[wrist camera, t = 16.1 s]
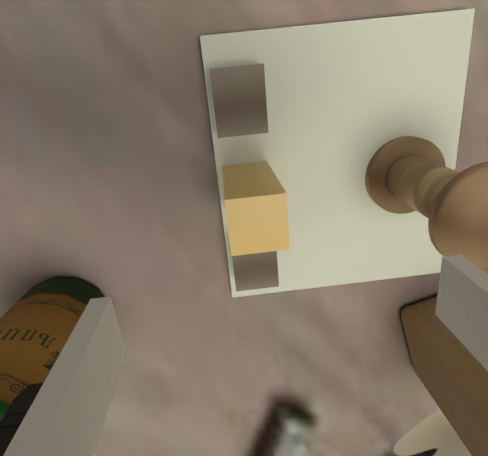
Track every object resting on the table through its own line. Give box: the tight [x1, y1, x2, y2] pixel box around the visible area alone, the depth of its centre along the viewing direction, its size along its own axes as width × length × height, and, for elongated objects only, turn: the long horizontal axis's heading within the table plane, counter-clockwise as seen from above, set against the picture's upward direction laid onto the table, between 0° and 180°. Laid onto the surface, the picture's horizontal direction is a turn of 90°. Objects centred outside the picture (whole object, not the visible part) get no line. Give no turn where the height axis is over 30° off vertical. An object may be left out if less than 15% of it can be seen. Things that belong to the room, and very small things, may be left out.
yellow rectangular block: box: [222, 161, 290, 256], centre depth 29 cm, size 4×4×10 cm
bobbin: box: [365, 136, 488, 270], centre depth 29 cm, size 7×7×12 cm
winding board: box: [200, 9, 475, 297], centre depth 34 cm, size 24×22×1 cm
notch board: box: [210, 63, 279, 291], centre depth 32 cm, size 19×4×3 cm, turn 5°
